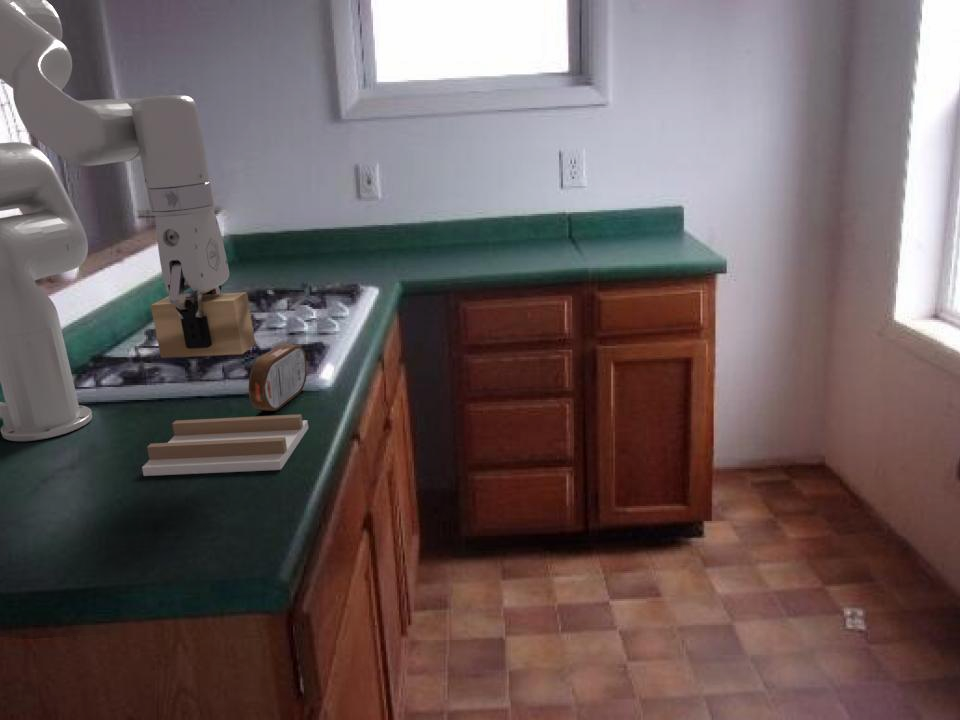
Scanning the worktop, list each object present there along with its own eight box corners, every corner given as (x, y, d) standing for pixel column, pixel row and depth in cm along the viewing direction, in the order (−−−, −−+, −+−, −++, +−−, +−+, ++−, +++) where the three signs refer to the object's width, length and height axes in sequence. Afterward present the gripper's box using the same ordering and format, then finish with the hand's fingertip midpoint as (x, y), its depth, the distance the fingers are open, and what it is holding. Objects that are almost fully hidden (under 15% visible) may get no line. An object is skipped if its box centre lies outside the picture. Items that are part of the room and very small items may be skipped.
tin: (295, 385, 142) (288, 336, 139) (313, 386, 141) (306, 336, 138) (251, 419, 128) (242, 365, 125) (270, 420, 127) (261, 365, 125)
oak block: (242, 354, 109) (233, 300, 107) (161, 357, 111) (150, 305, 109) (255, 344, 114) (246, 292, 112) (176, 347, 115) (167, 296, 113)
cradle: (143, 475, 110) (139, 454, 110) (185, 434, 124) (182, 414, 123) (280, 469, 109) (277, 447, 108) (308, 428, 122) (305, 408, 121)
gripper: (182, 206, 98) (210, 359, 103) (234, 190, 114) (256, 323, 119) (119, 211, 99) (150, 363, 104) (180, 194, 115) (204, 326, 120)
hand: (207, 340), depth 112 cm, fingers closed on oak block, 4 cm apart
